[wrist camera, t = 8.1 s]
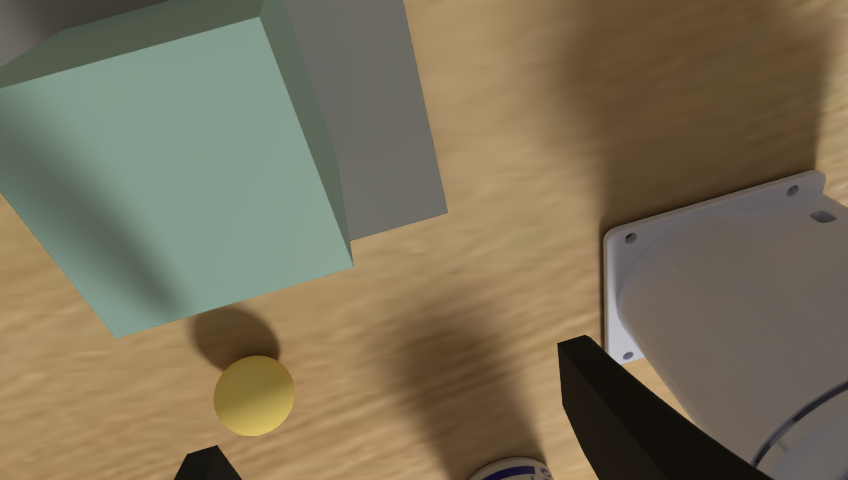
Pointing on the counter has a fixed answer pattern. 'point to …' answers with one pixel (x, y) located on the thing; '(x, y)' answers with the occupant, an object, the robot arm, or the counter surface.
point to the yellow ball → (254, 395)
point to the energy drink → (513, 470)
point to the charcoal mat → (319, 95)
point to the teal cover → (173, 159)
